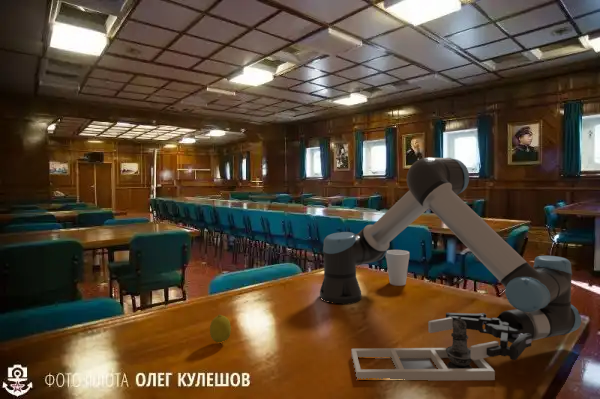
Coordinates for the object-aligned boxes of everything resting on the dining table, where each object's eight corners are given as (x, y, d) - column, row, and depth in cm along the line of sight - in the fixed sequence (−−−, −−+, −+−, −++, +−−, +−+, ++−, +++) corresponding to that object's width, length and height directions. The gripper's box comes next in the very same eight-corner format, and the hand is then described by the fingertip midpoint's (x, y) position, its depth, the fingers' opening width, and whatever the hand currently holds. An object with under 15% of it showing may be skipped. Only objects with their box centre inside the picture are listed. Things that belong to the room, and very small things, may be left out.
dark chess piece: (468, 361, 83) (468, 311, 82) (478, 374, 77) (478, 321, 76) (442, 360, 83) (442, 310, 83) (450, 374, 77) (450, 321, 77)
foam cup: (383, 280, 149) (382, 250, 148) (404, 279, 149) (404, 249, 149) (390, 287, 139) (390, 255, 138) (413, 286, 140) (413, 254, 139)
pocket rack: (356, 380, 76) (356, 371, 76) (351, 356, 86) (351, 348, 86) (494, 380, 75) (494, 370, 74) (472, 355, 85) (472, 347, 85)
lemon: (235, 340, 97) (234, 312, 96) (224, 349, 91) (223, 319, 91) (217, 338, 98) (216, 310, 98) (206, 347, 93) (205, 317, 93)
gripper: (575, 365, 73) (494, 386, 67) (481, 320, 97) (415, 332, 91) (575, 330, 73) (494, 347, 67) (481, 294, 97) (415, 304, 90)
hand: (448, 339), depth 79 cm, fingers open, 13 cm apart
